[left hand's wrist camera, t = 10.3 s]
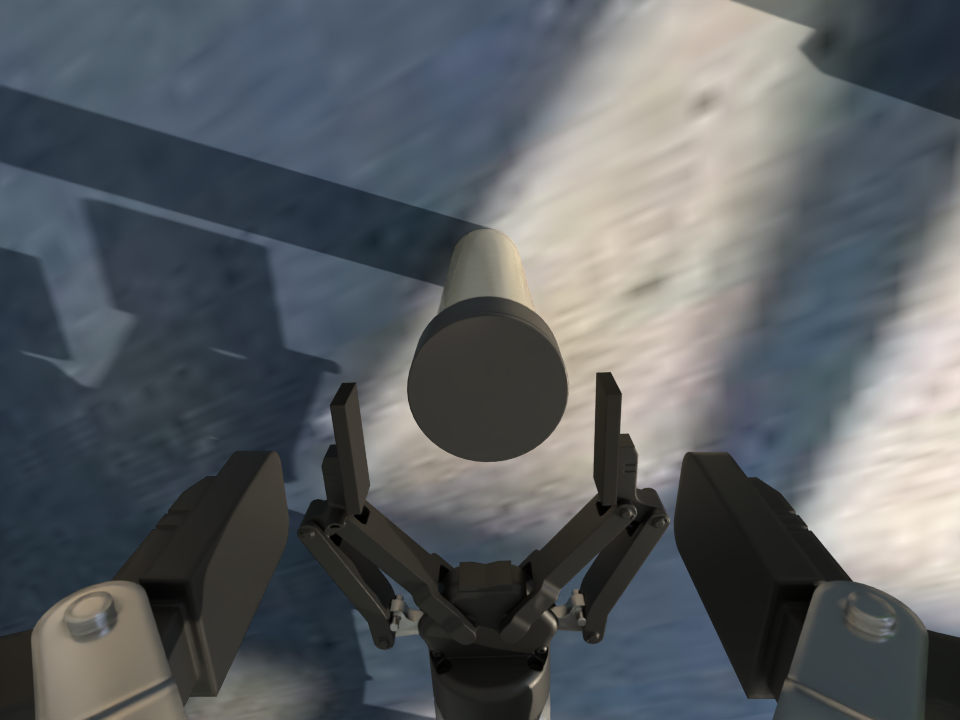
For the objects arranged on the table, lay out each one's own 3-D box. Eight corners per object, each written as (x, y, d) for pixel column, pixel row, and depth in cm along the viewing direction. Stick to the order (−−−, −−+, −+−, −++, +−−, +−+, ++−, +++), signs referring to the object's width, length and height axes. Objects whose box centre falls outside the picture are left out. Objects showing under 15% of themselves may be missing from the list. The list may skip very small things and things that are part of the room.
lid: (544, 279, 19) (551, 298, 17) (572, 413, 20) (581, 444, 18) (396, 315, 19) (386, 337, 17) (436, 443, 21) (431, 476, 19)
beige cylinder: (511, 220, 34) (538, 309, 17) (527, 288, 35) (565, 429, 19) (442, 238, 34) (405, 341, 18) (460, 304, 35) (441, 456, 19)
